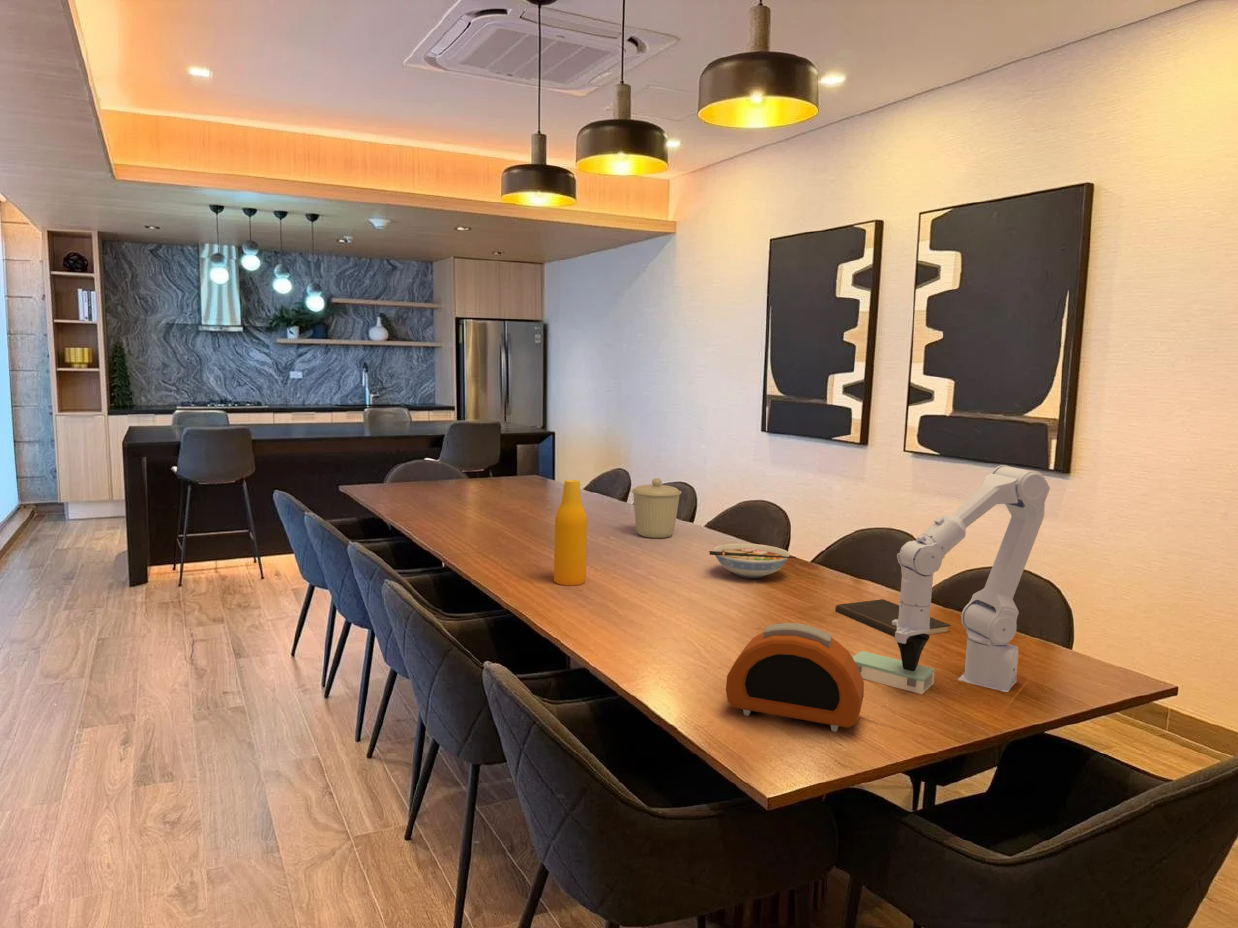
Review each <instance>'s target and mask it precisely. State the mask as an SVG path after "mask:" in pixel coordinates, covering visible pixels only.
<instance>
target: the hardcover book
mask: <svg viewBox="0 0 1238 928" xmlns="http://www.w3.org/2000/svg"><path fill="white" fill-rule="evenodd" d="M899 605H900V604H897V603H894V602H893V601H892V602H891V601H889V600H886V599H874V600H866V601H865V600H864V601H857V602H856V601H855V602H849V603H848V602H847V603H841V604H836V606H835V609H834V610H835V613H838V614H840V615H842V616H845V617H847V618H849V619H852V620H853V621H856V622H859V623H861V624H863V625H866V626H868V627H871V628H873V629H875V630H877V631H879V632H882V633H884V634H887V635H889V636H891V637H893V638H895V632H896V631H897V626H896V625H892V621H893V620H895V619H897V620H898V617H899ZM929 618H930V624H929V626H930V629H929V632H927V633H924V634H928V635H935V634H941V633H948V632H949V627H951V624H949V623H947V622H945V621H941V620H939V619H936V618H933V617H931V616H930V617H929Z"/></svg>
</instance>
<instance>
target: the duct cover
mask: <svg viewBox="0 0 1238 928" xmlns="http://www.w3.org/2000/svg"><path fill="white" fill-rule="evenodd" d="M852 658H853V659H854V661H855V663H856V664H857V665H859V666H863V667H867V668H871V669H875V670H879V671H883V672H887V673H890V674H894V675H898V676H902V677H906V678H910V679H914V680H918V681H922V682H923V681H924V680H925V679H926V678H928V677H929V676H930V675H931V674H932V673H933V672H934V673H935V668H933V667H929V666H925V665H920V664H918V665H917V668H916V670H915V671H910V670H906V669H903V665H902V659H897V658H893V657H888V656H884V655H880V654H877V653H876V654H875V653H872V652H869V651H864V650H861V651H859V652H858V653H857V654H854V655H853V656H852Z"/></svg>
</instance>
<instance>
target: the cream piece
mask: <svg viewBox="0 0 1238 928" xmlns="http://www.w3.org/2000/svg"><path fill="white" fill-rule="evenodd" d="M857 666H858V669H859V671H860V674H861V676H862V679H863V680H867V681H871V682H875V683H876V684H877V683H878V684H882V685H885V686H889V687H893V688H897V689H901V690H904V691H907V692H912V693H917V694H919V695H923V694H924V693H926V691H928V689H930V688H931V687H932V686H933V685H934V681H935V671H934V672H933V673H932V674H931V675H930V676H929V677H928V678H926V679H925V680H924V681H923V682H922V681H918V680H914V679H910V678H906V677H902V676H898V675H894V674H890V673H887V672H883V671H879V670H875V669H871V668H867V667H863V666H859V665H857Z"/></svg>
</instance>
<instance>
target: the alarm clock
mask: <svg viewBox="0 0 1238 928" xmlns="http://www.w3.org/2000/svg"><path fill="white" fill-rule="evenodd" d="M852 657H853V656H852V654H851V653H850V651H848V649H847V648H846V647H844V646H843V645H842V644H841V643H840V642H839V641H837V640H836V639H834V638H833V635H832V634H831V633H829V632H827V631H825V630H823V629H820V628H818V627H814V626H811V625H807V624H804V623H800V622H799V623H798V622H797V623H795V622H786V623H785V622H784V623H783V622H781V623H776V624H771V625H768V626H766V628H764V631H763V632H761V633H759V634H757V635H755V636H754V637H752V639H751V640H750V641H749V642H748V643H747V644H746V645H745V646H744V648H743V650H742V651H741V652H740V654H739V655H738V657H737V658H736V659H735V661H734V663H733V665H732V666H731V668H730V670H729V671H728V673H727V675H726V682H725V693H726V699H727V702H728V703H729V704H730V705H731V706H732V707H733V709H734V708H735V709H740V710H742V712H743V715H744V716H745V717H749V716H750V714H751V712H758V713H761V714H767V715H773V716H779V717H785V718H789V719H790V718H791V719H796V720H803V721H808V722H814V723H819V724H824V725H829V726H830V729H831V732H835V733H837V731H838V728H839V727H840V728H841V727H842V728H847V729H848V728H850V727H852V726H854V725H857V723H858V719H859V717H860V714H861V708H862V705H863V701H864V693H865V691H864V690H865V689H864V688H865V681H864V679H862V676H861V674H860V671H859V669H858V666H857V664H856V663H855V661H854V659H853V658H852Z"/></svg>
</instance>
